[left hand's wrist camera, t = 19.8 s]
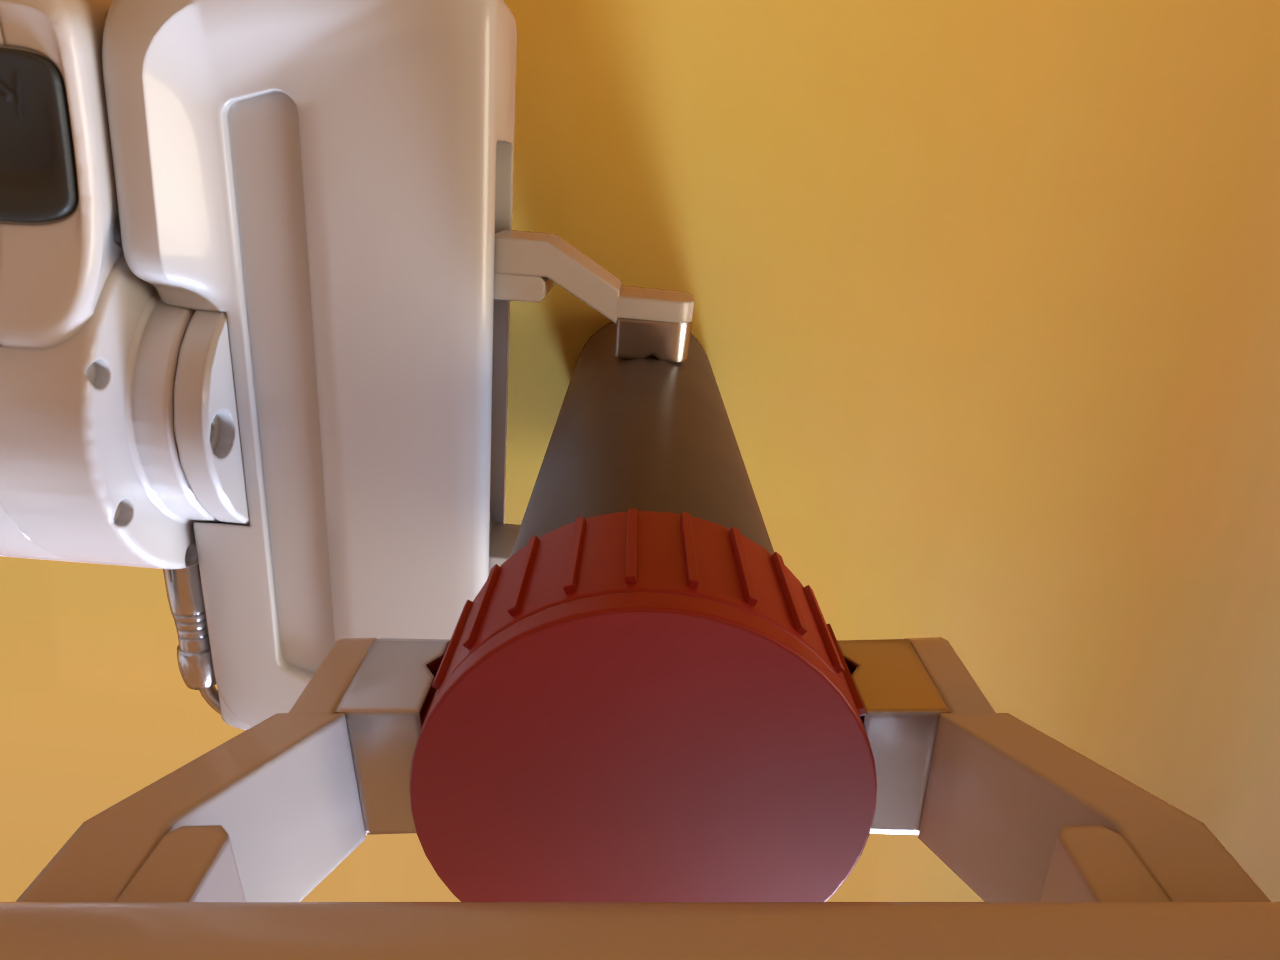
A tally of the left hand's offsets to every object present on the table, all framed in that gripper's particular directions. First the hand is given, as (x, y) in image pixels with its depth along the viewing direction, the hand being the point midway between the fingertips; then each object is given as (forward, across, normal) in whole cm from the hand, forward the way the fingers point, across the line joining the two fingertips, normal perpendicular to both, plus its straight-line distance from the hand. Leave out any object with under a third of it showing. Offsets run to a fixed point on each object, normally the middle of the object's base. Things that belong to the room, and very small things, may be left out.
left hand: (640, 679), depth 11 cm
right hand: (+10, -1, 0) cm, 10 cm away
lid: (-2, 0, 0) cm, 2 cm away
